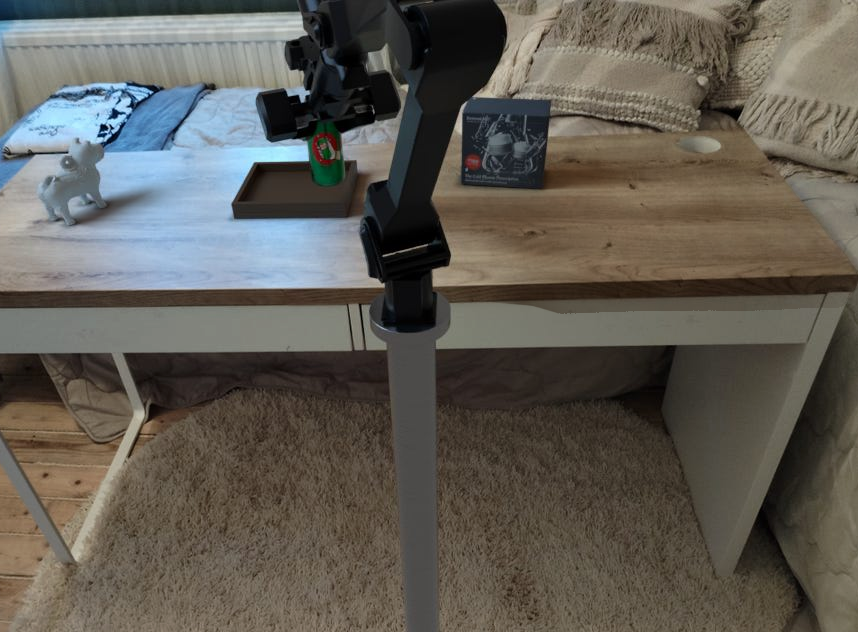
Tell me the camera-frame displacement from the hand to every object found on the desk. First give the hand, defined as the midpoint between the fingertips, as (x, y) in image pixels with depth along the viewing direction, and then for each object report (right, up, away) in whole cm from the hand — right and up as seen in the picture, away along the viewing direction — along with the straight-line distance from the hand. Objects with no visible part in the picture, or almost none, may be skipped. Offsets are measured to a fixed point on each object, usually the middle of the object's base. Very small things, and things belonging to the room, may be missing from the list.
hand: (321, 134), depth 102 cm
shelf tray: (-5, -6, +13) cm, 15 cm away
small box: (+28, -3, +13) cm, 32 cm away
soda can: (+1, -6, +3) cm, 7 cm away
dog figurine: (-40, -8, +13) cm, 43 cm away
